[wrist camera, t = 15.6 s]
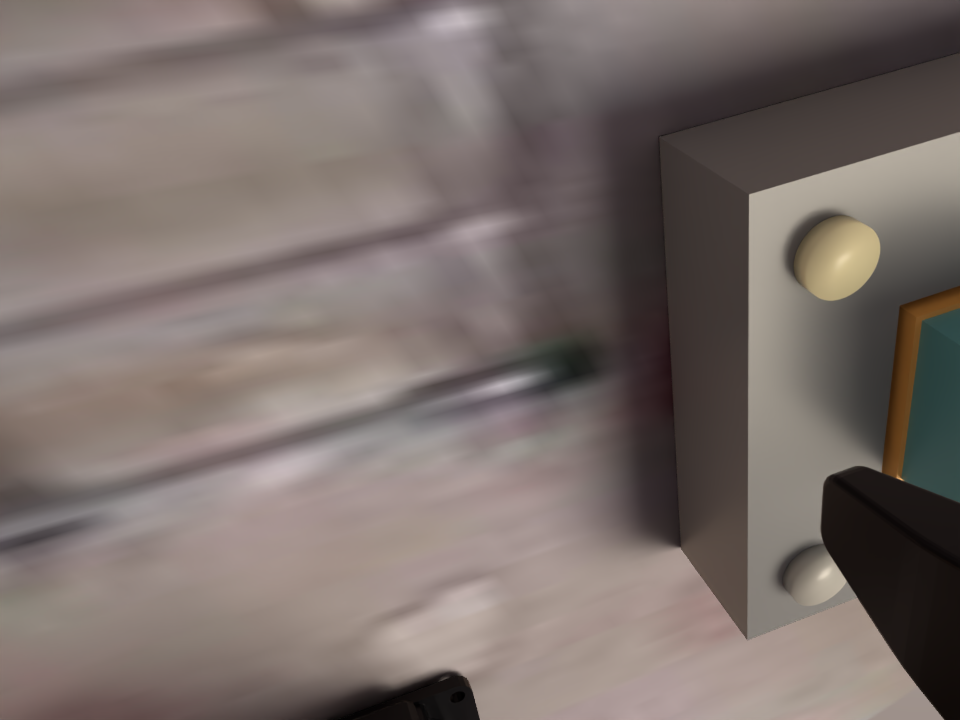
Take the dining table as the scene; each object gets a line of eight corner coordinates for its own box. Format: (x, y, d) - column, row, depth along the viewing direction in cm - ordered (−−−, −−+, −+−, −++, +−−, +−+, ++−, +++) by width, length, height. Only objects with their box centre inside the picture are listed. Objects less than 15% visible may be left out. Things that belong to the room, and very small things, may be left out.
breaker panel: (1042, 416, 32) (1159, 495, 28) (680, 548, 30) (756, 653, 26) (1137, 3, 24) (1314, 37, 21) (659, 136, 22) (762, 203, 18)
